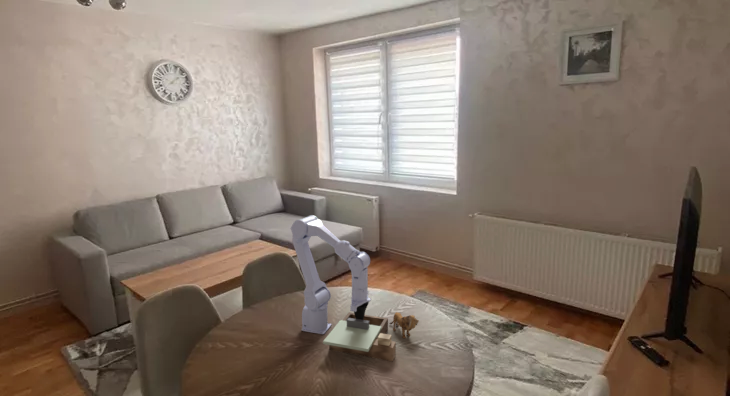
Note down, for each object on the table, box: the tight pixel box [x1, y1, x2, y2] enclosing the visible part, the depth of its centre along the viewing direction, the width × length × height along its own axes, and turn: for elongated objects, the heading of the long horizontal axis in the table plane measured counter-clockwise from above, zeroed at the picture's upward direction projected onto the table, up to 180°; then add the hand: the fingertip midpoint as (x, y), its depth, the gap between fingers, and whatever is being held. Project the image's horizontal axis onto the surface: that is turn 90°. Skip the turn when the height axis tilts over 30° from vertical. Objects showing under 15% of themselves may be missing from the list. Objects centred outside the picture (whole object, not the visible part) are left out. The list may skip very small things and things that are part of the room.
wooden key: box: [378, 333, 392, 346], centre depth 142 cm, size 4×3×2 cm
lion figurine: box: [388, 311, 420, 339], centre depth 159 cm, size 15×5×9 cm, turn 37°
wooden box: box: [328, 311, 397, 362], centre depth 153 cm, size 23×20×5 cm
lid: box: [322, 318, 382, 352], centre depth 147 cm, size 16×16×4 cm
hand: (359, 321), depth 153 cm, fingers closed
